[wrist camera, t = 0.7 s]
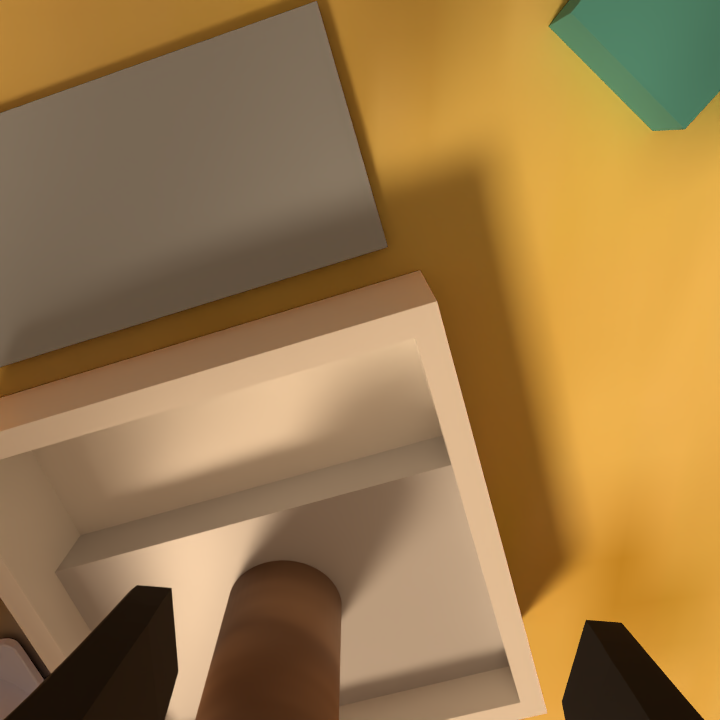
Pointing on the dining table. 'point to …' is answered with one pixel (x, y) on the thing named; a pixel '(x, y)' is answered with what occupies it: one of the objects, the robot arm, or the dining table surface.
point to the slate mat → (178, 185)
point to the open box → (275, 502)
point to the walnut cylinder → (277, 648)
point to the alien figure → (649, 53)
